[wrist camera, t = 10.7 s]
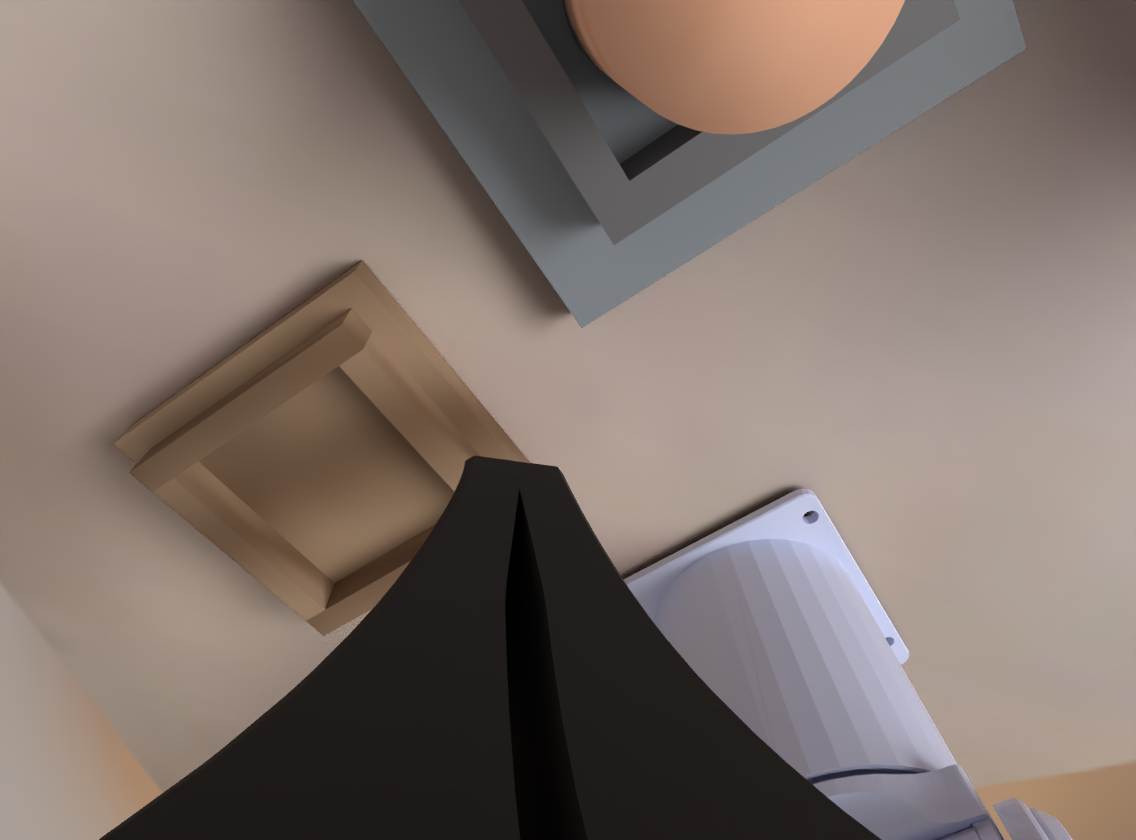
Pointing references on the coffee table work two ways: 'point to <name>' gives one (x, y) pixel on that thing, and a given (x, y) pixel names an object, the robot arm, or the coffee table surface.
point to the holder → (320, 449)
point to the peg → (731, 54)
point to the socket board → (650, 132)
